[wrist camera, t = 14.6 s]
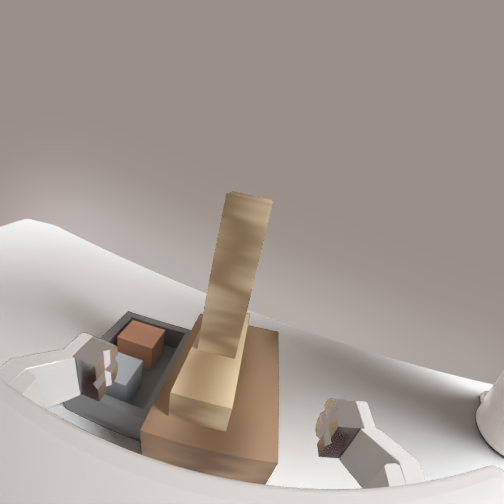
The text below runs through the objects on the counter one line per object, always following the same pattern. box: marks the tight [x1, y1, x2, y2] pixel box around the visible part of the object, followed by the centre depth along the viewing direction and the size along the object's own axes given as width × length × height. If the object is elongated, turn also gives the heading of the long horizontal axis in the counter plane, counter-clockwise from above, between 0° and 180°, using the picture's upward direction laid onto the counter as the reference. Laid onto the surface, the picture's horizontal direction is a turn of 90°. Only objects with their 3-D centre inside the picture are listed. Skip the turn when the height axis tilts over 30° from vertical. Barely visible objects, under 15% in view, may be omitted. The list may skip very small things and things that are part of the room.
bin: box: [64, 311, 191, 441], centre depth 27 cm, size 9×15×4 cm, turn 176°
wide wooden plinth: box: [140, 314, 279, 485], centre depth 25 cm, size 9×18×6 cm, turn 176°
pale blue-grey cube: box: [105, 352, 143, 404], centre depth 23 cm, size 4×4×3 cm
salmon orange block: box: [117, 320, 165, 370], centre depth 29 cm, size 4×4×3 cm
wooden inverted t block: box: [168, 192, 272, 432], centre depth 22 cm, size 4×14×14 cm, turn 176°
